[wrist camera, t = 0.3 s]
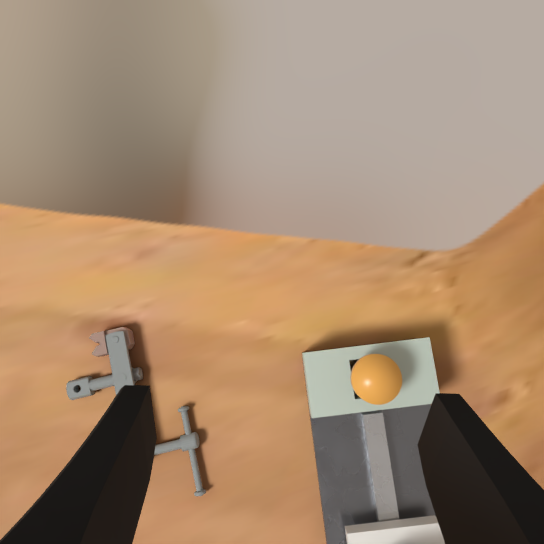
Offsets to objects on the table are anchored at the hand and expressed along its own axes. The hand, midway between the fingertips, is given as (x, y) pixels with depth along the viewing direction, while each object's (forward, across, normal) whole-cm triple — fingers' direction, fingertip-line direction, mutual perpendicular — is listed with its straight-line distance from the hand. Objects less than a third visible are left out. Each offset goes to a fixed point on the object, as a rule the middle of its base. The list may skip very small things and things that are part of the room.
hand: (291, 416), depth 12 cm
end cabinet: (+21, -9, +20) cm, 30 cm away
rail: (+16, -10, +25) cm, 31 cm away
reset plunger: (+19, -8, +18) cm, 27 cm away
